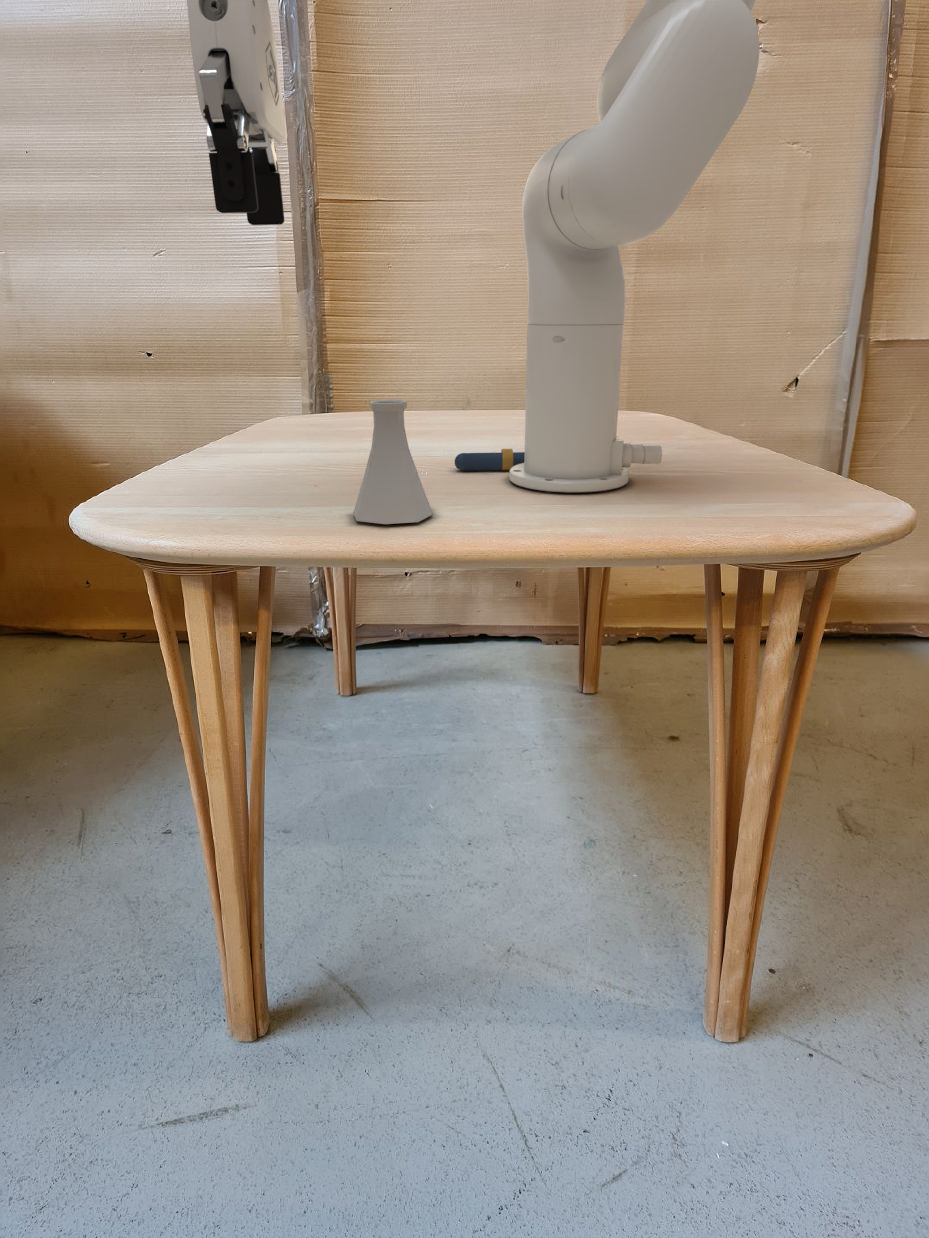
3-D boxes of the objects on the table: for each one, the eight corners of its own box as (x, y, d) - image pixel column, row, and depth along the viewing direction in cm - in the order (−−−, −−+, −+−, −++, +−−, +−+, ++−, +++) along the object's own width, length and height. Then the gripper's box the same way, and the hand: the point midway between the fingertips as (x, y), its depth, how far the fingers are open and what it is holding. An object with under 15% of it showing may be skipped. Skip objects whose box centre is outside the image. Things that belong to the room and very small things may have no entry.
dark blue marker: (557, 467, 88) (558, 446, 88) (560, 471, 86) (561, 450, 85) (454, 468, 88) (454, 448, 87) (454, 473, 86) (454, 451, 85)
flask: (438, 507, 71) (436, 396, 67) (427, 528, 64) (424, 406, 61) (362, 506, 72) (355, 396, 68) (343, 526, 65) (335, 406, 61)
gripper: (244, -93, 49) (275, 205, 56) (296, 4, 65) (315, 227, 72) (128, -91, 49) (173, 208, 56) (208, 6, 65) (235, 229, 72)
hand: (253, 218), depth 64 cm, fingers open, 9 cm apart
